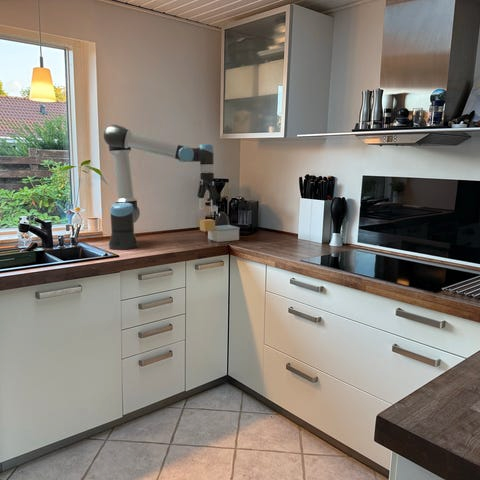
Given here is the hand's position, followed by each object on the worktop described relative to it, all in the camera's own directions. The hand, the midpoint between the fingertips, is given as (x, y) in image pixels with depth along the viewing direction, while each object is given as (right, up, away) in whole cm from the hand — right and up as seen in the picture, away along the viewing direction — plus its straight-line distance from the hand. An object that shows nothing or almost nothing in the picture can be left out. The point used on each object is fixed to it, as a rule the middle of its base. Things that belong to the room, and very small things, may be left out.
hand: (207, 210), depth 248 cm
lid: (+6, -12, +6) cm, 14 cm away
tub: (+9, -17, +9) cm, 21 cm away
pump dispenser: (+7, -15, +26) cm, 31 cm away
